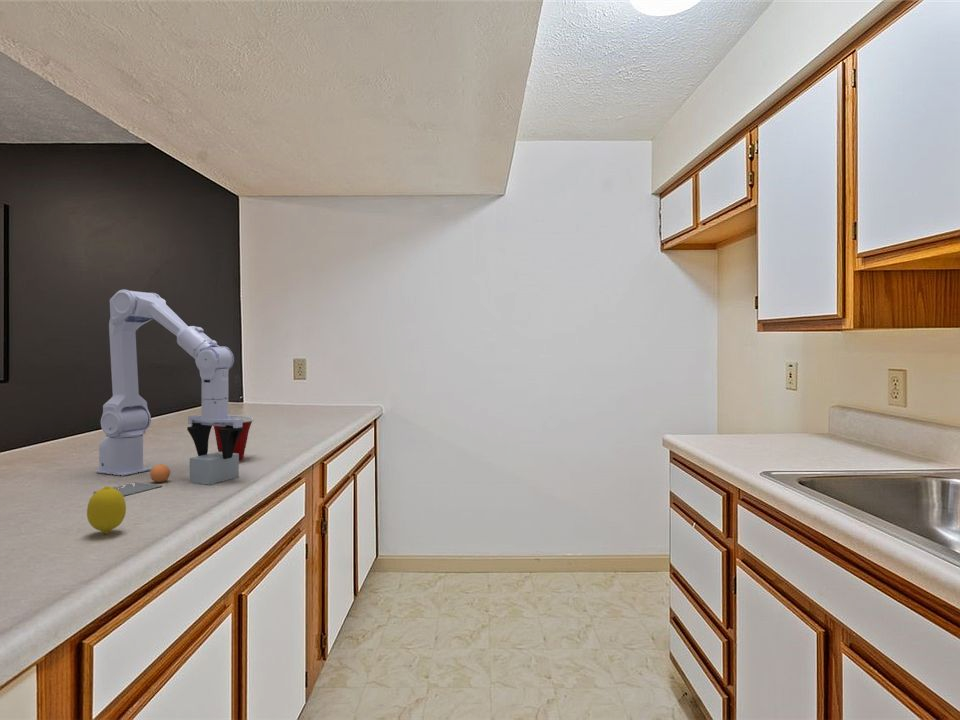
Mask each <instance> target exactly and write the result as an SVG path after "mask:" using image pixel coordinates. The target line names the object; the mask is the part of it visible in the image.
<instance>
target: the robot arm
mask: <svg viewBox="0 0 960 720" xmlns="http://www.w3.org/2000/svg"><path fill="white" fill-rule="evenodd" d="M109 312H110V313H109V314H110V318H109V322H108V331H109V332H108V333H109V335H108V336H109V350H110V352H109V353H110V354H109V355H110V369H111V370H110V371H111V386H112V387H111V388H112V396H111V397H110V399H108V400H107V401H106V402H105V403H104V404H103V405H102V414H101V418H100V428H101V430H102V432H103V433H104V434H105V436H104V437H103V438H102V439H101V441H100V443H99V447H98V450H99V451H98V461H99V462H98V465H99V466H98V467H99V468H98V469H96V470H95V473H100V474H105V473H106V475H112V474H113V475H114V476H120V475H121V476H120V477H124V476H129V474H130V475H134V474H137V473H138V472H139V473H143V472H147V470H148V471H151V470H152V468H153V467H149V466H148V467H147V466H144V435H146V430H147V429H148V428H150V426H151V423H152V417H151V413H150V411H149V407H148V402H147V400H145V399H144V397H142V396H141V395H140V394H139V393H140V391H139V373H138V356H137V355H138V353H137V335H136V331H138V329H139V328H140V327H141V326H143V325H144V324H146V323H149V322H150V321H152V320H155V321H156V322H157V323H159V324H160V325H161V326H163V327H164V328H165V329H166V330H168V331H169V332H170V333H172V334H173V335H175V337H176V343H177V345H178V346H180V348H182V349H183V350H184V351H185V352H186V353H187V354H189V356H191V357H192V358H193V359H194V362H195V364H196V365H195V366H196V367H197V369H198V370H199V377H200V378H201V415H188V416H187V417H188V418H187V419H188V420H187V422H188V425H191V426H187V427H186V429H187V432H188V434H189V435H190V436H191V438H192V440H193V443H194V446H195V450H196V453H197V456H202V455H206V454H209V453H208V451H209V439H210V435H211V430H212V427H214V426H223V427H225V428H221V429H218V432H219V434H220V438H221V442H222V455H223V459H228V458H232V455H233V452H234V448H235V445H236V442H237V440H238V438H239V436H240V434H241V432H242V431H243V428H242V421H243V419H238V418H233V417H230V416H228V415H229V370H230V369H231V368H232V367H233V366H234V363H235V356H234V353H233V352H232V350H231V349H230V348H229V347H227V346H224V345H223V346H222V345H221V346H220V345H218V341H216V340H214V339H212V338H211V337H209V336H208V335H207V334H206V333H204V331H205V330H204V328H202V327H201V326H195V325H190V326H189V325H187V323H185V322H184V321H183V320H182V318H180V317H179V315H178V314H177V313H176V312H174V310H173V309H172V308H170V306H168V305H167V300H165V299H164V298H162V297H161V296H160V294H157V293H155V292H144V291H135V290H128V289H120V290H118V291H116V293H115V294H114V295H113V296H112V297H111V298H109ZM218 423H219V424H218ZM139 473H138V474H139ZM113 475H112V476H113Z"/></svg>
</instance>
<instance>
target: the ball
mask: <svg viewBox="0 0 960 720" xmlns="http://www.w3.org/2000/svg"><path fill="white" fill-rule="evenodd" d="M151 468H152V470H150V473H149V474H150V475H149V476H150V478H151V480H152V481H154V482H156V483H163V482H166V481H167V480H168V479H169V478H170V475H171V470H170V468H169V467H168V466H167V465H166V464H156V465H155V466H153V467H151Z"/></svg>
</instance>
